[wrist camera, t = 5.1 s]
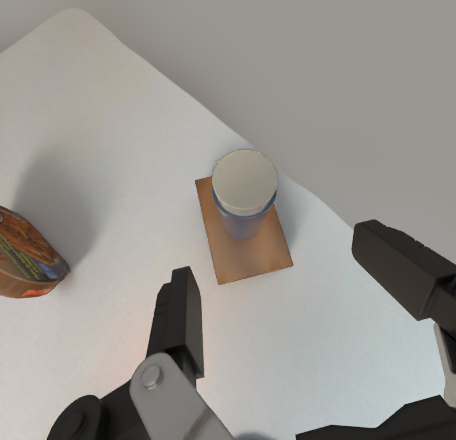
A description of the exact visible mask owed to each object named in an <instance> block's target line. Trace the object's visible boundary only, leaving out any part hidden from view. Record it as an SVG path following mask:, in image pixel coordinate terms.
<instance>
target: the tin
mask: <svg viewBox="0 0 456 440" xmlns="http://www.w3.org/2000/svg"><path fill="white" fill-rule="evenodd" d="M67 274H68V268H67V265H66V263H65V261H64V260H63V259H62V257H61V256H60V255H59V254H58V253H57V252H56V251H55V250H54V249H53V248H52V247H51V246H50V245H49V244H48V242H47V241H46V240H45V239H44V238H43V237H42V236H41V235H40V234H39V233H38V232H37V231H36V229H35V228H34V227H33V226H32V225H31V224H30V223H29V222H28V221H27V220H25V219H24V218H22V217H21V216H19V215H18V214H16V213H14V212H13V211H11V210H9V209H7V208H4V207H2V206H0V295H2V296H5V297H10V298H32V297H39V296H42V295H45V294H47V293H49V292H50V291H51V290H52V289H54V288H55V287H56V286H57V284H58V283H59V282H60V281H61V280H63V279H64V278H65V277H66V276H67Z"/></svg>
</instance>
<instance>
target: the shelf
mask: <svg viewBox="0 0 456 440" xmlns="http://www.w3.org/2000/svg"><path fill="white" fill-rule="evenodd" d="M195 184H196V188H197V193H198V197H199V202H200V206H201V210H202V215H203V219H204V224H205V228H206V233H207V237H208V242H209V246H210V251H211V255H212V260H213V264H214V269H215V273H216V278H217V282H218V285H221V284H225V283H229V282H233V281H237V280H241V279H245V278H249V277H252V276H256V275H260V274H264V273H268V272H272V271H276V270H280V269H284V268H288V267H292V266H293V262H292V259H291V256H290V253H289V250H288V247H287V244H286V240H285V237H284V234H283V231H282V228H281V225H280V222H279V218H278V215H277V212H276V209H275V206H274V203H273V204H272V206H271V208H270V210H269V212H268V214H267V216H266V218H265V220H264V222H263V224H262V226H261V227H260V229H259V231H258V233H257V234H256V235H255V236H253V237H252V238H250V239H247V240H236V239H233V238H231V237H229V236H228V235H227V234H226V233H225V231H224V230H223V228H222V225H221V221H220V218H219V215H218V212H217V209H216V205H215V202H214V199H213V195H212V176H211V177H207V178H203V179H199V180H195Z"/></svg>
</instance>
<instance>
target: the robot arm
mask: <svg viewBox="0 0 456 440" xmlns="http://www.w3.org/2000/svg"><path fill="white" fill-rule="evenodd" d="M352 254H353V256H354V258H355V260H356V261H357V262H358V263H359V264H360V265H361V266H362V267H363V268H364V269H365V270H366V271H367V272H368V273H369V274H370V275H371V276H372V277H373V278H374V279H375V280H376V281H377V282H378V283H379V284H380V285H381V286H382V287H383V288H384V289H385V290H386V291H387V292H388V293H389V294H390V295H392V296H393V297H394V298H395V299H396V300H397V301H398V302H399V303H400V304H401V305H402V306H403V307H404V308H405V309H406V310H407V311H408V312H409V313H410V314H411V315H412V316H413V317H414V318H415V319H416V320H417V321H420V320H423V319H427V318H432V319H433V320H434V321H435V324H434V332H435V336H436V340H437V344H438V349H439V353H440V357H441V361H442V366H443V370H444V374H445V389H444V399H443V398H442V397H441V395H437V396H434V397H430V398H427V399H423V400H419V401H416V402H412V403H409V404H405V405H404V406H403V407H401V408H400V409H399V410H398V411H396V412H395V413H394V414H393V415H392V416H390V417H389V418H388V419H387V420H386V421H384V422H383V423H382V424H381V425H380V426H378V427H376V428H364V427H352V426H339V425H329V426H325V427H322V428H318V429H315V430H311V431H307V432H304V433H300V434H297V435H296V440H456V265H455V264H453V263H452V262H450V261H449V260H447V259H446V258H444V257H442V256H441V255H439V254H437V253H436V252H434V251H433V250H431V249H430V248H428V247H425V246H424V245H423V244H421V243H420V242H418V241H415V240H414V238H412V237H410V236H409V235H407V234H406V233H404V232H402V231H399V230H396V229H394V228H391V227H386V226H385V225H383V224H382V223H380V222H379V221H377V220H369V221H365V222H361V223H358V224H356V225H355V227H354V234H353V242H352ZM202 377H204V361H203V335H202V310H201V296H200V291H199V288H198V285H197V283H196V280H195V278H194V275H193V273H192V270H191V268H190V266H187V267H183V268H179V269H175V270H173V271H172V278H171V282H170V283H166V284H164V285H163V286H162V288H161V290H160V291H159V293H158V295H157V300H156V307H155V311H154V317H153V322H152V328H151V333H150V338H149V344H148V349H147V354H146V358H145V360H144V361H143V362H142V363H141V364H140V365H139V366H138V367H137V369H136V370H135V372H134V374H133V376H132V378H131V379H130V380H129V381H128V382H126V383H125V384H123V385H122V386H120V387H119V388H117V389H116V390H114V391H112V392H111V393H109V394H108V395H106V396H104V397H103V398H101V399H99V398H97V397H96V396H94V395H86V396H83V397H80V398H78V399H77V400H75V401H74V402H73V403H71V404H70V405H69V406H68V407H67V408H66V409H65V410H64V411H63V412H62V413H61V415H60V416H59V417H58V418H57V420H56V421H55V423H54V425H53V426H52V428H51V430H50V433H49V435H48V437H47V440H235V439H234V437H233V436H232V435H231V433H230V432H229V431H228V430H227V428H226V427H225V426H224V424H223V423H222V422H221V420H220V419H219V418H218V417H217V415H216V414H215V413H214V412H213V410H212V409H211V408H210V407H209V406H208V405H207V404H206V402H205V401H204V400H203V398H202V397H201V396H200V394H199V393H198V392H197V391H196V379H199V378H202Z"/></svg>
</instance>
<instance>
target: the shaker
mask: <svg viewBox="0 0 456 440" xmlns="http://www.w3.org/2000/svg"><path fill="white" fill-rule="evenodd" d="M277 184H278V176H277V171H276V169H275V167H274V165H273V163H272V162H271V161H270V160H269V159H268V158H267V157H266V156H265V155H263V154H261V153H259V152H257V151H254V150H246V149H244V150H236V151H233V152H231V153H229V154H227V155H225V156H224V157H223V158H222V159H221V160H220V161H219V162H218V163H217V165H216V167H215V169H214V172H213V176H212V195H213V199H214V202H215V205H216V209H217V212H218V215H219V218H220V221H221V225H222V228H223V230H224V231H225V233H226V234H227V235H228V236H229V237H231V238H233V239H236V240H247V239H250V238H252V237H253V236H255V235H256V234H257V233H258V231H259V229H260V227H261V226H262V224H263V222H264V220H265V218H266V216H267V214H268V212H269V210H270V208H271V206H272V204H273V202H274V200H275V197H276V192H277Z"/></svg>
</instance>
